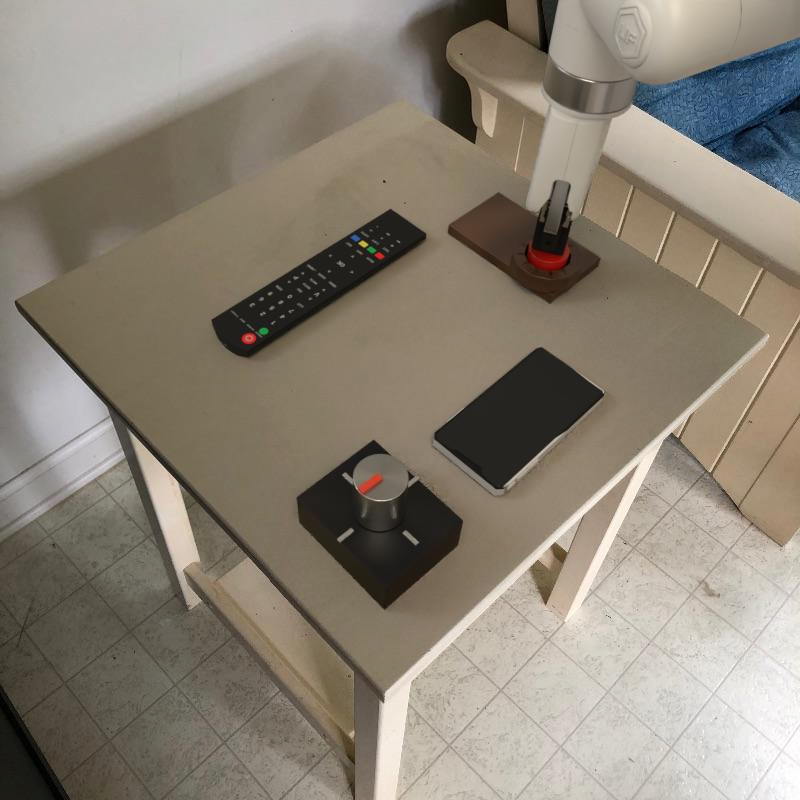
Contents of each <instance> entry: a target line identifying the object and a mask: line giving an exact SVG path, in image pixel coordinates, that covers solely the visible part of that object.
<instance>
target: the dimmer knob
mask: <svg viewBox="0 0 800 800" xmlns="http://www.w3.org/2000/svg"><path fill="white" fill-rule="evenodd" d="M390 455H391V454H390ZM390 455H387V454H374V455H371V456H368V457H366V458H364V459H363V460H361V461H360V462H359V463H358V464H357V466H356V467H355V469H354V472H353V513H354V516H355V518H356V520H357V521H358V522H359V523H360V524H361V525H362V526H363V527H365V528H367V529H369V530H372V531H378V532H381V531H387V530H390V529H393V528H395V527H396V526H397V525H399V524H400V523H401V521H402V520H403V518H404V516H405V513H406V504H407V493H408V482H409V475H408V471H409V470H408V469H407V467H406V465H405V464H404V463H403V461H401V460H400V459H398V458H397V457H395V456H393V455H392V456H390ZM407 470H408V471H407Z"/></svg>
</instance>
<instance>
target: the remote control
mask: <svg viewBox="0 0 800 800" xmlns="http://www.w3.org/2000/svg"><path fill="white" fill-rule="evenodd" d="M425 240H427V233H426V232H425V231H424V230H422V229H421V228H419V227H418V226H416V225H415V224H414V223H412V222H411V221H410V220H408V219H406V218H405V217H404V216H402V215H400V214H399V213H398V212H396V211H395V210H393V209H392V208H389V209H388V210H386V211H384V212H383V213H381V214H379V215H378V216H376V217H375V218H373V219H372V220H370V221H368V222H367V223H365V224H363V225H362V226H360V227H358V228H356V229H355V230H354V231H352V232H350V233H349V234H347V235H345V236H344V237H342V238H341V239H338V241H336V242H334V243H333V244H331V245H329V246H328V247H326V248H324V249H323V250H321V251H319V252H318V253H316V254H315V255H313V256H311V257H310V258H308V259H307V260H305V261H304V262H302V263H300V264H299V265H297V266H296V267H294V268H292V269H291V270H289V271H287V272H286V273H284V274H282V275H281V276H280V277H278V278H276V279H274V280H273V281H271V282H270V283H268V284H266V285H265V286H263V287H261V288H260V289H258V290H257V291H255V292H253V293H252V294H250V295H249V296H247V297H245V298H244V299H242V300H241V301H239V302H237V303H236V304H234V305H232V306H231V307H229V308H227V309H225V310H224V311H223V312H221V313H219V314H217V316H215V317H213V318H211V320H210V321H211V325H212V327H213V330H214V333H215V335H216V337H217V339H218V341H219V342H220V343H221V344H222V346H224V348H225V349H226V350H228V351H229V352H231V353H233V355H235V356H242V357H249V356H251V355H252V354H254V353H256V352H257V351H259V350H260V349H262V348H263V347H264V346H266V345H268V344H269V343H270V342H272V341H273V340H276V339H277V338H278V337H279V336H281V335H283V334H284V333H285V332H287V331H289V330H290V329H291V328H293V327H295V326H296V325H298V324H299V323H301V322H302V321H304V320H306V319H307V318H308V317H310V316H311V315H313V314H314V313H316V312H318V311H319V310H320V309H322V308H324V307H325V306H327V305H328V304H329V303H331V302H333V301H334V300H336V299H337V298H338V297H340V296H342V295H343V294H345V293H346V292H349V290H351V289H353V288H354V287H356V286H357V285H359V284H360V283H361V282H363V281H364V280H366V279H367V278H369V277H371V276H372V275H373V274H376V272H379V271H380V270H381V269H383V268H385V266H387V265H389V264H391V263H392V262H393V261H395V260H396V259H399V258H400V257H401V256H403V254H406V253H407V252H408V251H410V250H411V249H413V248H414V247H416V246H417V245H419V244H421V243H422V242H423V241H425Z"/></svg>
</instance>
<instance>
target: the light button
mask: <svg viewBox="0 0 800 800" xmlns="http://www.w3.org/2000/svg"><path fill="white" fill-rule="evenodd" d="M532 241H533V240H532ZM532 241H531V242H530V244H529V248H528V253H527V260H528V262H529V263H530V264H532V265H533V266H535V267H536V268H538V269H542V270H547V271H555V270H561V269H563V268H564V267H566V264H567V260H568V257H569V253H570V250H569V247H568V245H567V243H566V247H565V251H564V254H563V255H562V256H559V255H554V254H550V253H546V252H542V251H538V250H534V249H532V247H531V246H532Z"/></svg>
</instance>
